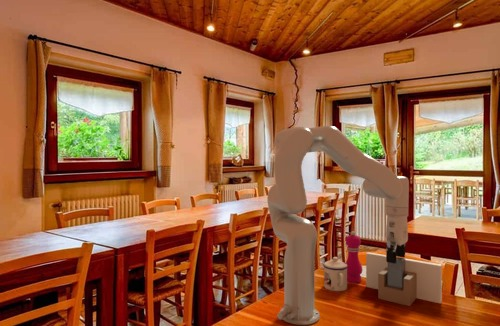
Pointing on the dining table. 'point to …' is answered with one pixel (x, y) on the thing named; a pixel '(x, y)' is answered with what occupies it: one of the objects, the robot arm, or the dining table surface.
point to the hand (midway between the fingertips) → (395, 259)
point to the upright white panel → (405, 280)
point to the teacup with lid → (335, 275)
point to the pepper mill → (353, 258)
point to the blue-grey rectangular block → (396, 273)
